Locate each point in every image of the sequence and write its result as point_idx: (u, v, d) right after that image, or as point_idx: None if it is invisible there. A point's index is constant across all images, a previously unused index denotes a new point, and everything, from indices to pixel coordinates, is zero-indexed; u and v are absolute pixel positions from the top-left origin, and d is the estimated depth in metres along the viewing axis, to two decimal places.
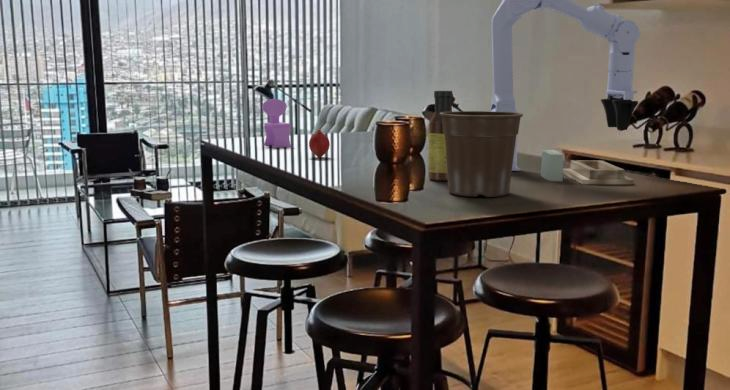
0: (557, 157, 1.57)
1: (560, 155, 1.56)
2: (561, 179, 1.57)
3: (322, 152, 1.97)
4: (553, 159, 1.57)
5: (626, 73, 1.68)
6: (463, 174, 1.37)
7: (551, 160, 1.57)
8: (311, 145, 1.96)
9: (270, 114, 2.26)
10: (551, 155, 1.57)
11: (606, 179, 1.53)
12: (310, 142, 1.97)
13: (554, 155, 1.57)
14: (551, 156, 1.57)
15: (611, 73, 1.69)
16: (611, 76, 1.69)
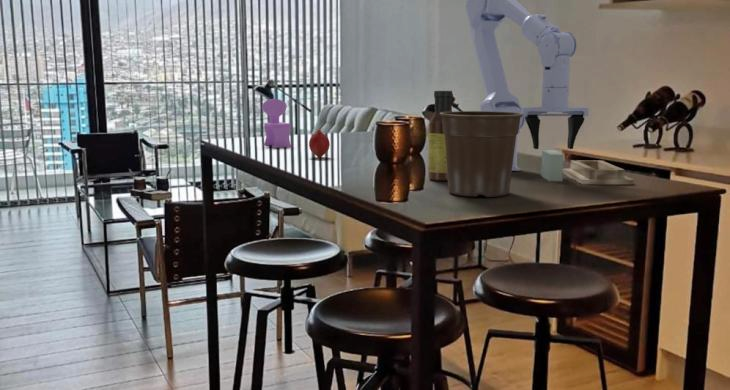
0: (557, 157, 1.57)
1: (560, 155, 1.56)
2: (561, 179, 1.57)
3: (322, 152, 1.97)
4: (553, 159, 1.57)
5: (543, 89, 1.57)
6: (463, 174, 1.37)
7: (551, 160, 1.57)
8: (311, 145, 1.96)
9: (270, 114, 2.26)
10: (551, 155, 1.57)
11: (606, 179, 1.53)
12: (310, 142, 1.97)
13: (554, 155, 1.57)
14: (551, 156, 1.57)
15: None
16: None
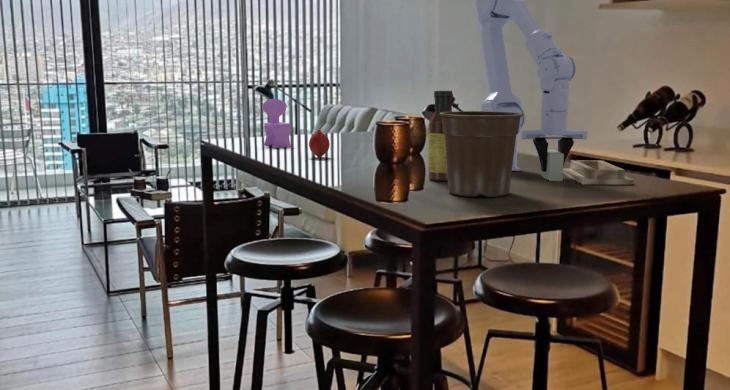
0: (557, 157, 1.56)
1: (560, 155, 1.56)
2: (561, 179, 1.57)
3: (322, 152, 1.97)
4: (553, 159, 1.57)
5: (542, 112, 1.58)
6: (463, 174, 1.37)
7: (551, 160, 1.57)
8: (311, 145, 1.96)
9: (270, 114, 2.26)
10: (551, 155, 1.57)
11: (606, 179, 1.53)
12: (310, 142, 1.97)
13: (554, 155, 1.57)
14: (551, 156, 1.56)
15: None
16: None
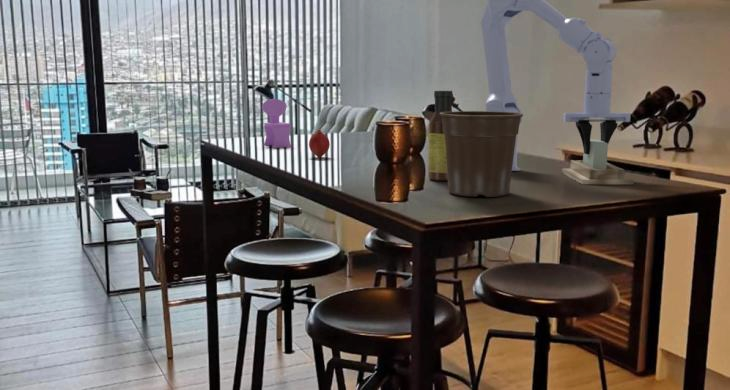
0: (601, 146, 1.58)
1: (604, 144, 1.57)
2: (605, 168, 1.58)
3: (322, 152, 1.97)
4: (597, 148, 1.58)
5: (585, 95, 1.59)
6: (463, 174, 1.37)
7: (595, 149, 1.58)
8: (311, 145, 1.96)
9: (270, 114, 2.26)
10: (595, 144, 1.58)
11: (606, 179, 1.53)
12: (310, 142, 1.97)
13: (598, 144, 1.58)
14: (595, 145, 1.58)
15: None
16: None
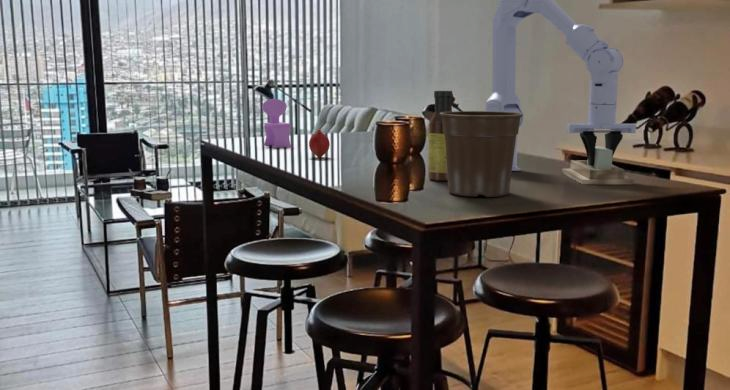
0: (606, 153, 1.54)
1: (609, 151, 1.54)
2: None
3: (322, 152, 1.97)
4: (602, 155, 1.54)
5: (590, 105, 1.56)
6: (463, 174, 1.37)
7: (600, 156, 1.54)
8: (311, 145, 1.96)
9: (270, 114, 2.26)
10: (600, 151, 1.54)
11: (606, 179, 1.53)
12: (310, 142, 1.97)
13: (603, 151, 1.54)
14: (600, 152, 1.54)
15: None
16: None
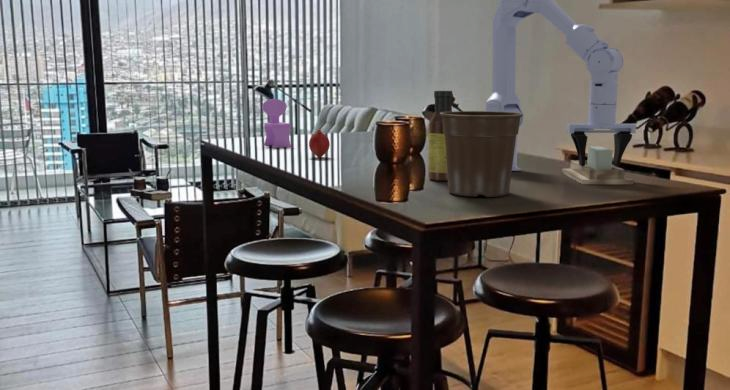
0: (606, 153, 1.54)
1: (609, 151, 1.54)
2: None
3: (322, 152, 1.97)
4: (602, 155, 1.54)
5: (590, 105, 1.56)
6: (463, 174, 1.37)
7: (600, 156, 1.54)
8: (311, 145, 1.96)
9: (270, 114, 2.26)
10: (600, 151, 1.54)
11: (606, 179, 1.53)
12: (310, 142, 1.97)
13: (603, 151, 1.54)
14: (600, 152, 1.54)
15: None
16: None
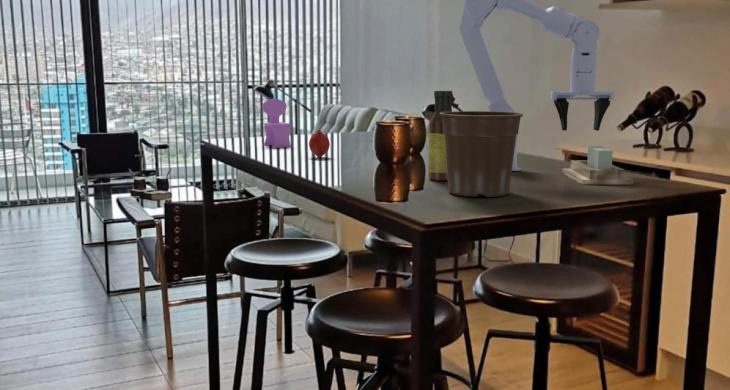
0: (606, 153, 1.54)
1: (609, 151, 1.54)
2: None
3: (322, 152, 1.97)
4: (602, 155, 1.54)
5: (571, 74, 1.67)
6: (463, 174, 1.37)
7: (600, 156, 1.54)
8: (311, 145, 1.96)
9: (270, 114, 2.26)
10: (600, 151, 1.54)
11: (606, 179, 1.53)
12: (310, 142, 1.97)
13: (603, 151, 1.54)
14: (600, 152, 1.54)
15: None
16: None
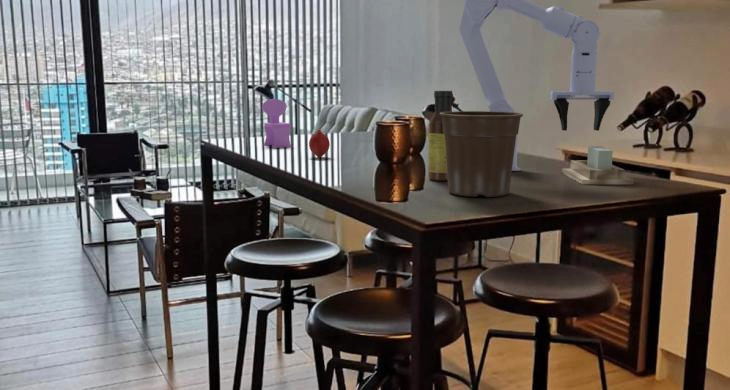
0: (606, 153, 1.54)
1: (609, 151, 1.54)
2: None
3: (322, 152, 1.97)
4: (602, 155, 1.54)
5: (571, 74, 1.67)
6: (463, 174, 1.37)
7: (600, 156, 1.54)
8: (311, 145, 1.96)
9: (270, 114, 2.26)
10: (600, 151, 1.54)
11: (606, 179, 1.53)
12: (310, 142, 1.97)
13: (603, 151, 1.54)
14: (600, 152, 1.54)
15: None
16: None
